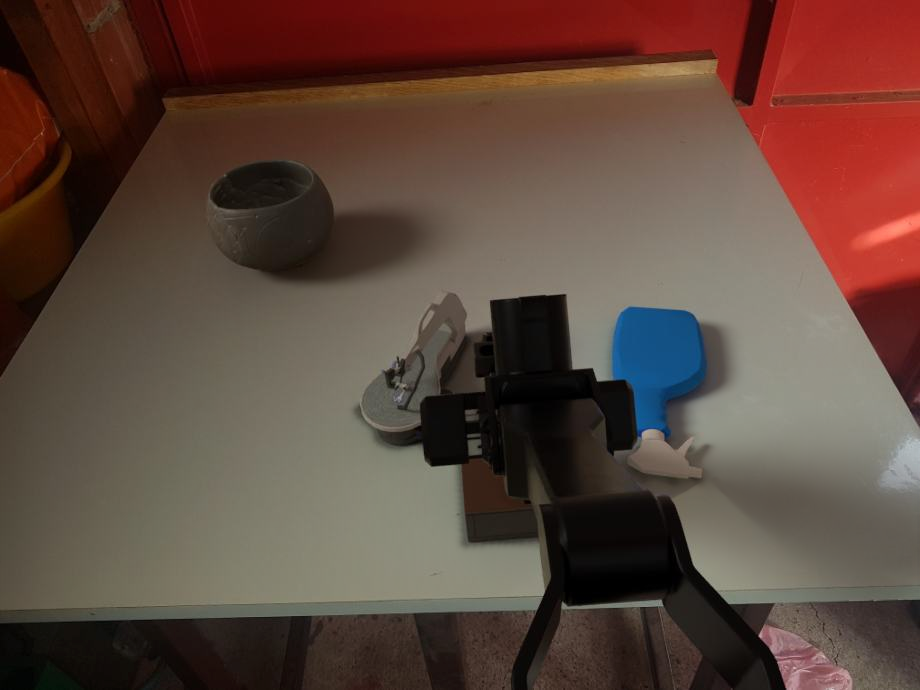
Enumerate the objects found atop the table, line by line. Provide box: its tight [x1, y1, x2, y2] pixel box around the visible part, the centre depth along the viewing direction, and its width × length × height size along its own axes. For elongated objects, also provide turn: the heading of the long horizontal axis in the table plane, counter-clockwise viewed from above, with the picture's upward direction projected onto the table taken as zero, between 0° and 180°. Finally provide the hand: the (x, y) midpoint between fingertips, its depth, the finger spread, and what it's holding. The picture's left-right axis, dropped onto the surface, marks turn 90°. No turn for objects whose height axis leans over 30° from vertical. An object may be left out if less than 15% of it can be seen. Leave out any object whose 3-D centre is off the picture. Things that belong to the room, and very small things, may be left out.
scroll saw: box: [358, 290, 468, 447], centre depth 80 cm, size 20×11×11 cm
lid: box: [460, 458, 533, 516], centre depth 67 cm, size 10×13×5 cm
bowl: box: [205, 158, 335, 272], centre depth 102 cm, size 18×18×13 cm
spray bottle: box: [611, 305, 707, 479], centre depth 80 cm, size 3×11×24 cm
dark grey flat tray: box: [464, 509, 539, 543], centre depth 70 cm, size 10×13×5 cm
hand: (520, 415), depth 70 cm, fingers closed on lid, 5 cm apart
